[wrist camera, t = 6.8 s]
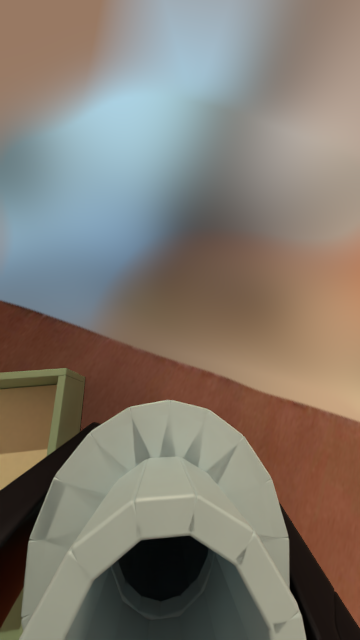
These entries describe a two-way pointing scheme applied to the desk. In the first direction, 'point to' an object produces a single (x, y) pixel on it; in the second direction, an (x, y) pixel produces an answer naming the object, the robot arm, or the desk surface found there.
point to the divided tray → (34, 434)
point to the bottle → (160, 537)
